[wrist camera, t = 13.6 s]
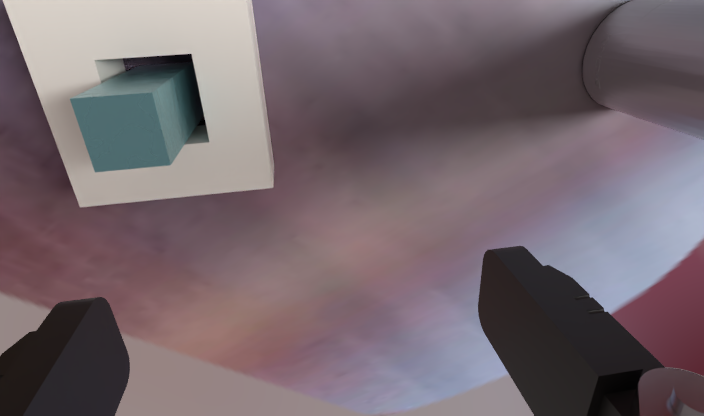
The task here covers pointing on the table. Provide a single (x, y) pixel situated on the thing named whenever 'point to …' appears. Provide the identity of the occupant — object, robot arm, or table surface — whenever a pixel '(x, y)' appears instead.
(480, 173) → the table surface
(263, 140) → the well block
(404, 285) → the table surface
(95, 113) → the bracket post
